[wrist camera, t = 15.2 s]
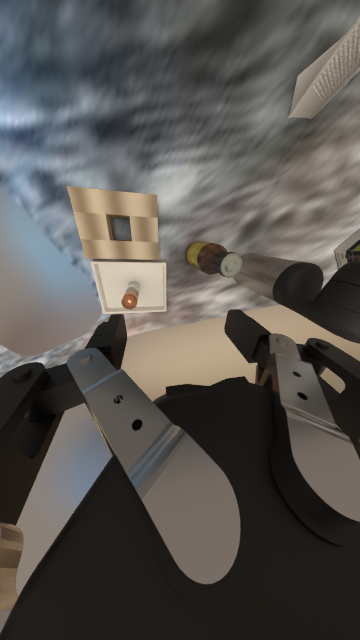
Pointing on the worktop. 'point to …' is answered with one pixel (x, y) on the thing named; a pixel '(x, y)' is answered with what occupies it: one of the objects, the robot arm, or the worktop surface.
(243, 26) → the worktop surface
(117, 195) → the block
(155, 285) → the tray
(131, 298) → the copper and grey cylinder
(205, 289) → the worktop surface
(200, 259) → the sauce bottle
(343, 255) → the tea box
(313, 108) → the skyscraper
